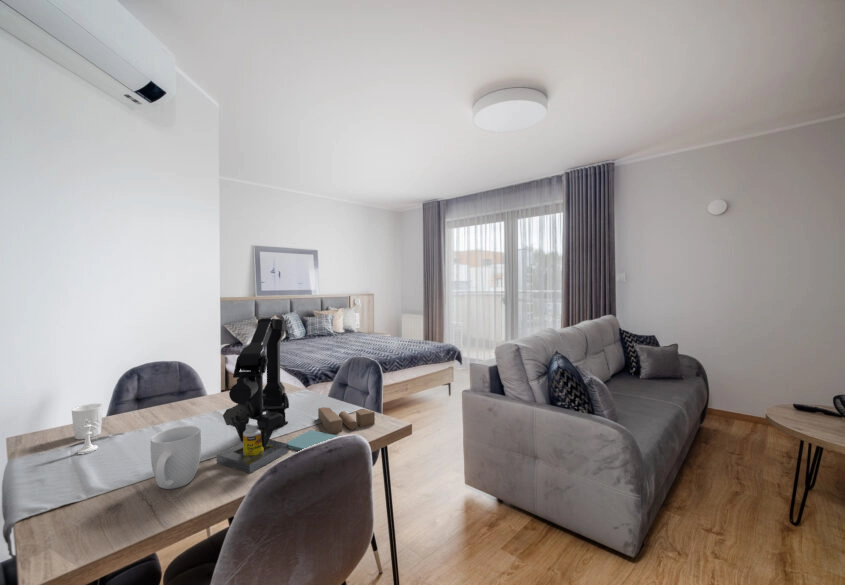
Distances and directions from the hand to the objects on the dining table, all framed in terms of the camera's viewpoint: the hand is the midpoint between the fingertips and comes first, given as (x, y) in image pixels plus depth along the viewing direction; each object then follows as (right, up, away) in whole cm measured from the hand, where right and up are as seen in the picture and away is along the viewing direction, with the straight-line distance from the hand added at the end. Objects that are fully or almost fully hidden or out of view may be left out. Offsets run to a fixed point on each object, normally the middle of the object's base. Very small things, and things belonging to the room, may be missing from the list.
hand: (253, 444), depth 108 cm
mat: (+15, -4, +10) cm, 18 cm away
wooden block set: (+22, -4, +28) cm, 36 cm away
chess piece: (-55, -5, +5) cm, 56 cm away
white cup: (-66, -4, +17) cm, 68 cm away
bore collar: (0, -4, 0) cm, 4 cm away
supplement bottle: (0, -4, 0) cm, 4 cm away
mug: (-14, -5, -15) cm, 20 cm away
